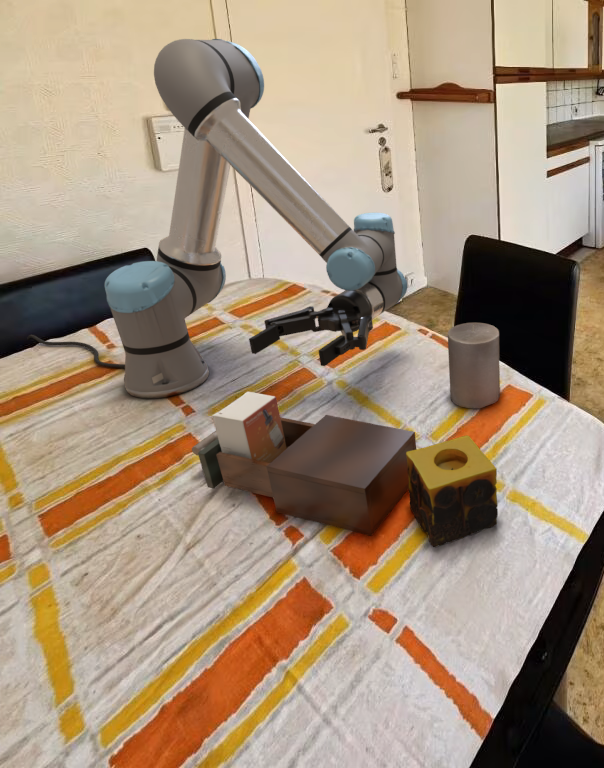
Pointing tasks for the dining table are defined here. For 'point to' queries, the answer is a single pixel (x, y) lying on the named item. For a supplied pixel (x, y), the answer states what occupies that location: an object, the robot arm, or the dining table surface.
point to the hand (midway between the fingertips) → (286, 352)
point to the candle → (452, 490)
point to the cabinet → (343, 474)
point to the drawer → (242, 462)
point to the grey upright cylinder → (474, 364)
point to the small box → (251, 427)
